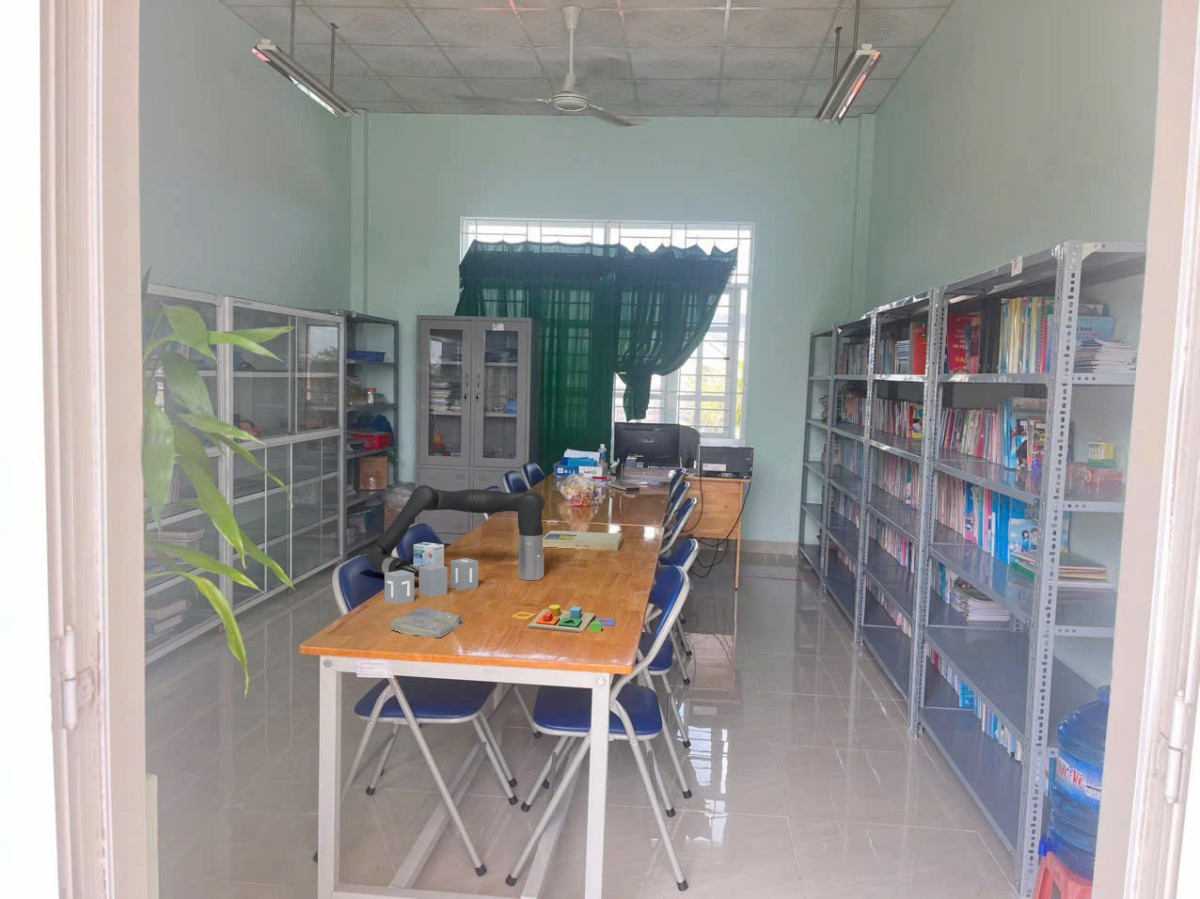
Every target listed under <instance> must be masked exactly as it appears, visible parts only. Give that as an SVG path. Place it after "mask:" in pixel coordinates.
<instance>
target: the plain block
mask: <svg viewBox="0 0 1200 899" xmlns="http://www.w3.org/2000/svg"><path fill="white" fill-rule="evenodd" d="M419 593H421V594H424V595H427V596H429V597H434V596H439V595H444V594H447V595H448V566H445V565H444V566H442V565H438V564H431V565H426V566H421V567H419V578H418V594H419ZM444 596H445V595H444ZM439 597H440V596H439Z"/></svg>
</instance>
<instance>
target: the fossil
mask: <svg viewBox="0 0 1200 899" xmlns="http://www.w3.org/2000/svg"><path fill="white" fill-rule="evenodd" d="M464 624H465V621H462V617H461V615H460V614H456V615H455V614H452V613H450V612H443V610H440V609H434V608H433V609H432V608H420V607H418V608H417V609H415V610H413V611H411V612H409V613H407V614H404V615H402V616H399V617H395V618H393V619H392V620H391V622H390V629H391V630H392V631H394V630H395V632H396V631H398V632H397V633H399V632H402V633H405V634H412V635H419V636H418V637H420V636H425V637H424V638H429V637H434V638H433V639H439V638H441V637H445V636H446V635H447V634H449V633H451V632H452V631H454V630H457V629H458V628H460V627H461V626H463V625H464ZM405 634H404V635H405Z"/></svg>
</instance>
